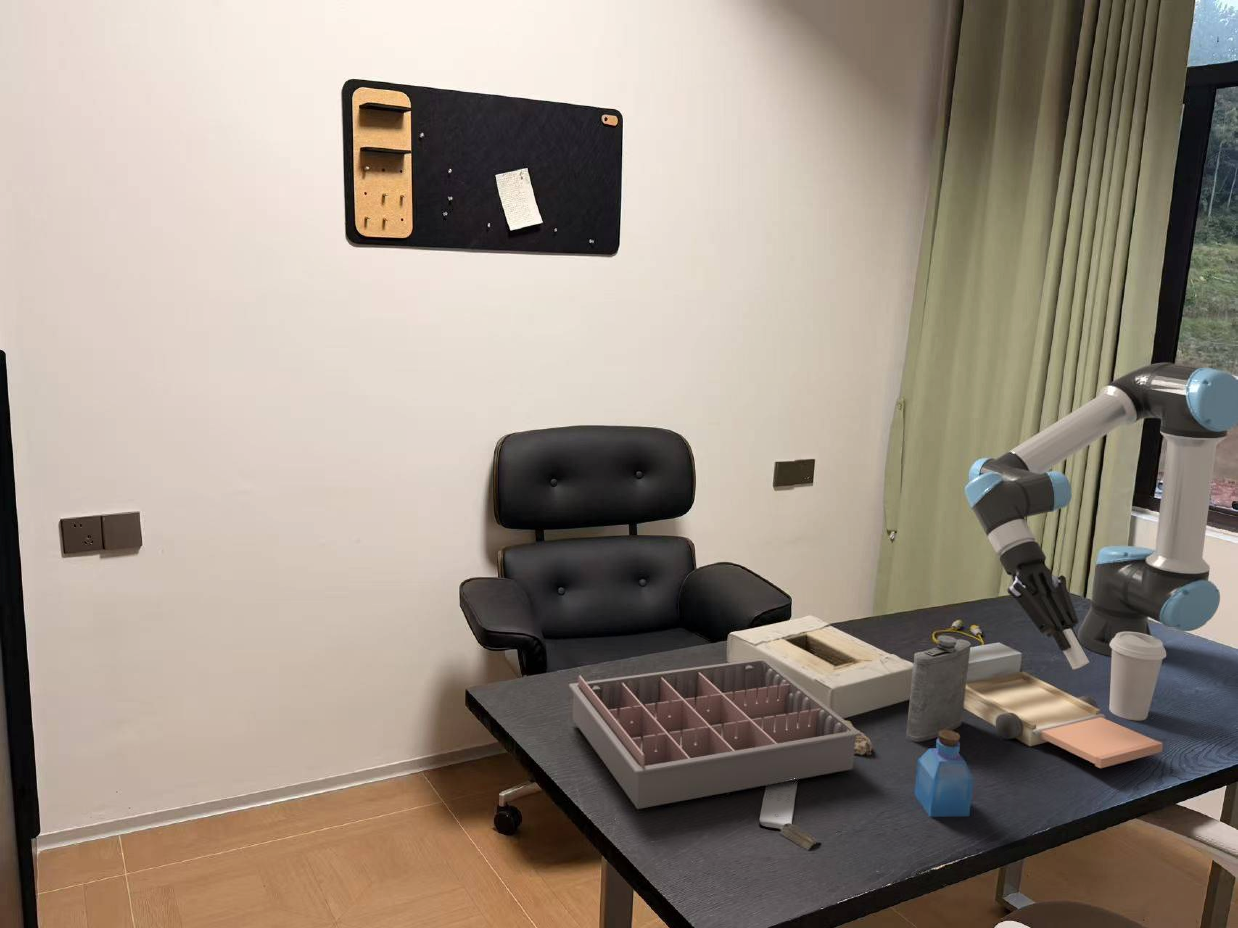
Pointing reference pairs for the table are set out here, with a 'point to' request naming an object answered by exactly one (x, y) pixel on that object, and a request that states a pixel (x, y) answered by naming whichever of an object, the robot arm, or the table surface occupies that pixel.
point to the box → (827, 664)
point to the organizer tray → (709, 730)
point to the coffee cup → (1134, 673)
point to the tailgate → (1099, 740)
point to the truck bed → (1017, 695)
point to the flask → (938, 689)
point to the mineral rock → (862, 744)
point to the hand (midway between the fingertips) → (1081, 665)
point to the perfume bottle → (944, 778)
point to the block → (799, 836)
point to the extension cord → (957, 625)
